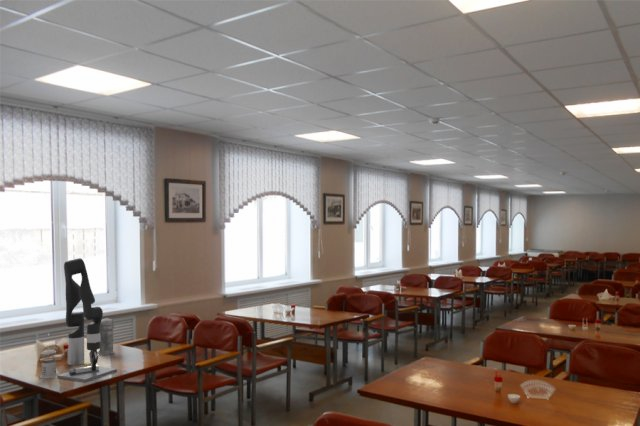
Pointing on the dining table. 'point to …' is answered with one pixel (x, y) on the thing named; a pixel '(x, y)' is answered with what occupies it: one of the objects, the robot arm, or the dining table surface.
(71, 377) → the jamb plate
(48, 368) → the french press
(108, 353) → the figurine
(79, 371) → the bar
